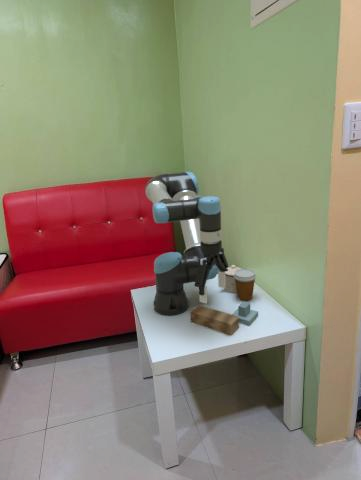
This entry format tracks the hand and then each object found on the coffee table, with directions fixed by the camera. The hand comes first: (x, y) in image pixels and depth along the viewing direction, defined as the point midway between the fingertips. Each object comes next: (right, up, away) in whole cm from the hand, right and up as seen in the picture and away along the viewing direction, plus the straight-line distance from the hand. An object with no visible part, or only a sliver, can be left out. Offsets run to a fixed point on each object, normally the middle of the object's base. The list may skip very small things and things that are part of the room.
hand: (213, 294), depth 131 cm
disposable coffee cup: (+16, -5, +23) cm, 29 cm away
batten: (+1, -13, +5) cm, 14 cm away
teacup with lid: (+11, -3, +31) cm, 33 cm away
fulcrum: (+13, -11, +8) cm, 18 cm away
